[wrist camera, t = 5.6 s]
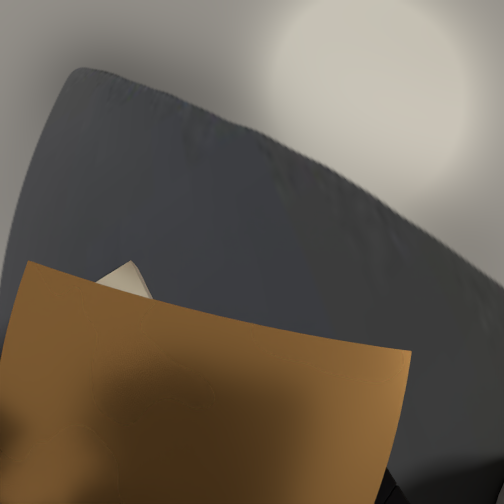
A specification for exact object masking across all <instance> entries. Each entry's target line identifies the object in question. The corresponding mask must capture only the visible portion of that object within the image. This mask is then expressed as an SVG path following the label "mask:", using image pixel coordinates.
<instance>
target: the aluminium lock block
mask: <svg viewBox="0 0 504 504" xmlns="http://www.w3.org/2000/svg"><path fill="white" fill-rule="evenodd" d="M411 352H412V351H406V350H398V349H391V348H384V347H377V346H371V345H364V344H358V343H352V342H346V341H340V340H334V339H328V338H322V337H317V336H311V335H306V334H301V333H296V332H291V331H286V330H281V329H276V328H271V327H266V326H261V325H257V324H252V323H247V322H243V321H238V320H234V319H230V318H225V317H221V316H217V315H213V314H208V313H204V312H200V311H196V310H192V309H188V308H184V307H180V306H176V305H173V304H169V303H165V302H161V301H157V300H154V299H150V298H147V297H143V296H139V295H136V294H132V293H129V292H125V291H122V290H118V289H115V288H112V287H108V286H105V285H102V284H98V283H95V282H92V281H89V280H85V279H82V278H79V277H76V276H73V275H70V274H67V273H64V272H61V271H58V270H55V269H52V268H49V267H46V266H43V265H40V264H37V263H34V262H31V261H29V260H28V263H27V266H26V268H25V271H24V274H23V277H22V280H21V283H20V286H19V289H18V293H17V296H16V299H15V303H14V306H13V310H12V313H11V317H10V321H9V324H8V328H7V332H6V337H5V341H4V345H3V350H2V355H1V360H0V504H374V502H375V499H376V497H377V494H378V491H379V488H380V485H381V482H382V479H383V476H384V472H385V469H386V466H387V463H388V459H389V456H390V452H391V449H392V445H393V441H394V437H395V433H396V429H397V425H398V421H399V417H400V412H401V408H402V403H403V398H404V393H405V388H406V383H407V377H408V371H409V365H410V359H411Z"/></svg>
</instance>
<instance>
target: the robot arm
mask: <svg viewBox="0 0 504 504" xmlns="http://www.w3.org/2000/svg"><path fill="white" fill-rule="evenodd" d="M374 504H410V503H409V502H408V500H407V499H406V497H405V496H404V494H403V492H402V491H401V489H400V488H399V486H398V485H396V482H395V480H394V478H393V477H392V475H391V474H390V472H389V470H388V469H387V467H386V469H385V472H384V476H383V479H382V482H381V485H380V488H379V491H378V494H377V497H376V499H375V502H374Z"/></svg>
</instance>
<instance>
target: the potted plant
mask: <svg viewBox="0 0 504 504" xmlns="http://www.w3.org/2000/svg"><path fill="white" fill-rule="evenodd" d="M496 504H504V484H503V486H502V488H501V491H500V493H499V495H498V499H497V502H496Z"/></svg>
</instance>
